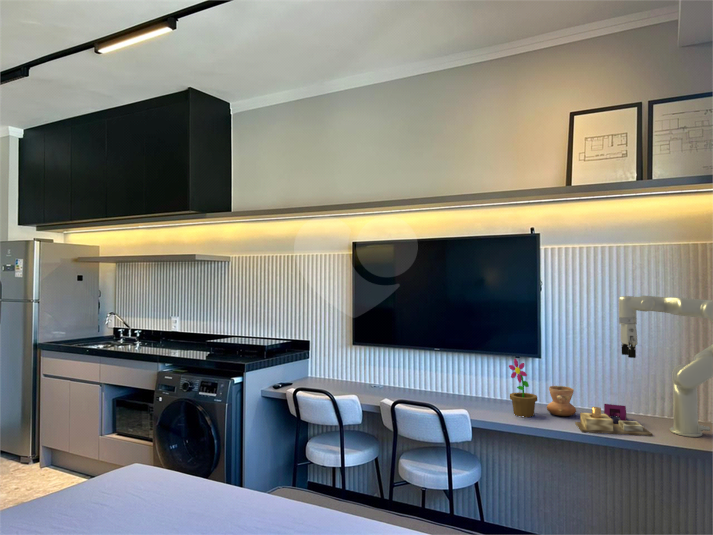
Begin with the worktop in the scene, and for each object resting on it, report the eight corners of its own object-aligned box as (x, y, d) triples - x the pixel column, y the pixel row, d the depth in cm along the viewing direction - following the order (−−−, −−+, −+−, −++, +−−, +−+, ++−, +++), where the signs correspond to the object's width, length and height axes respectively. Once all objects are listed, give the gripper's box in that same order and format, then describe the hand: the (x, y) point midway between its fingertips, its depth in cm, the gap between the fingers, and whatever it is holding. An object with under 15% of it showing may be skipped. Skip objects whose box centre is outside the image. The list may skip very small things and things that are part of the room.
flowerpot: (503, 413, 264) (503, 357, 265) (522, 409, 271) (521, 355, 272) (524, 419, 252) (523, 361, 253) (543, 416, 259) (542, 359, 260)
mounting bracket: (606, 428, 257) (604, 420, 243) (606, 411, 261) (604, 403, 247) (627, 430, 252) (625, 423, 239) (626, 414, 256) (625, 405, 242)
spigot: (599, 425, 238) (599, 406, 238) (602, 428, 234) (602, 409, 234) (590, 425, 238) (590, 406, 238) (593, 427, 234) (593, 408, 234)
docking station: (641, 427, 238) (641, 414, 238) (652, 436, 224) (652, 422, 225) (575, 423, 244) (575, 411, 244) (582, 432, 231) (581, 419, 231)
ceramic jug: (574, 420, 251) (574, 392, 251) (544, 416, 258) (544, 388, 259) (577, 412, 266) (577, 386, 267) (549, 409, 274) (549, 383, 274)
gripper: (642, 322, 231) (643, 359, 231) (630, 320, 248) (630, 353, 248) (625, 322, 233) (626, 358, 232) (614, 319, 250) (614, 353, 249)
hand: (628, 356), depth 240 cm, fingers open, 9 cm apart
